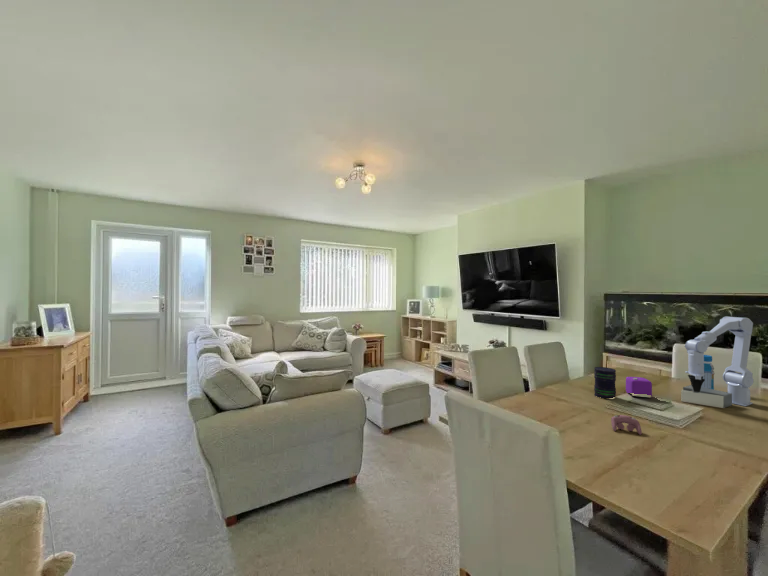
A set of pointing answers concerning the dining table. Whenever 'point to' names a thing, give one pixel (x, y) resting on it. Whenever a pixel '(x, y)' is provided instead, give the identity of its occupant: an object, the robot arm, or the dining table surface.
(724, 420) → the dining table surface
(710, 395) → the door
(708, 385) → the beverage bottle
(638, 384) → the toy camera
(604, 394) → the storage jar
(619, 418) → the video game controller
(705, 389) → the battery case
